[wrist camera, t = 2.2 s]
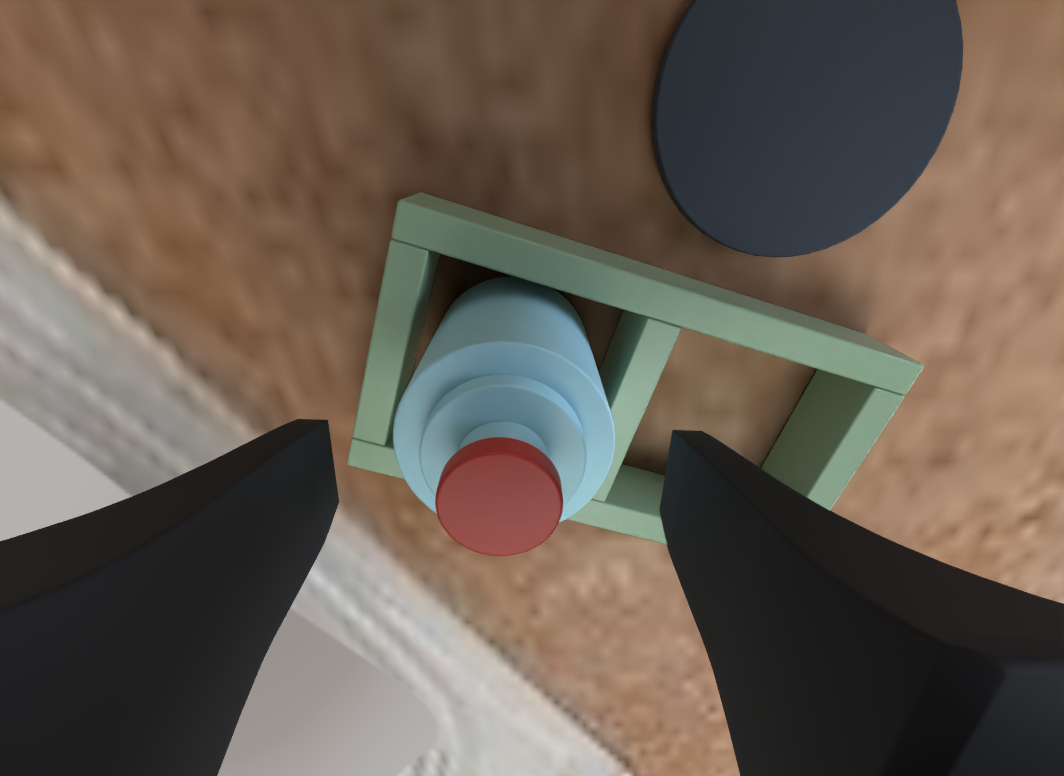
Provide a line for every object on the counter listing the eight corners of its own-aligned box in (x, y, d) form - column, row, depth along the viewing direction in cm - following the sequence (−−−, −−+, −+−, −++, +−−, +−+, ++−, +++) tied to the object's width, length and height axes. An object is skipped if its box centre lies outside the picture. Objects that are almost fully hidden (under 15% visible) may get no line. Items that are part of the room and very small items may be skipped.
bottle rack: (419, 190, 15) (397, 198, 13) (867, 334, 17) (926, 365, 15) (371, 422, 19) (345, 465, 16) (755, 522, 20) (788, 575, 18)
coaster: (1011, -10, 14) (1032, -17, 13) (847, 286, 17) (858, 290, 16) (728, -131, 13) (737, -144, 12) (609, 207, 16) (612, 209, 15)
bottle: (609, 302, 17) (676, 429, 9) (559, 434, 19) (581, 628, 11) (456, 255, 16) (391, 349, 9) (422, 396, 18) (343, 576, 10)
